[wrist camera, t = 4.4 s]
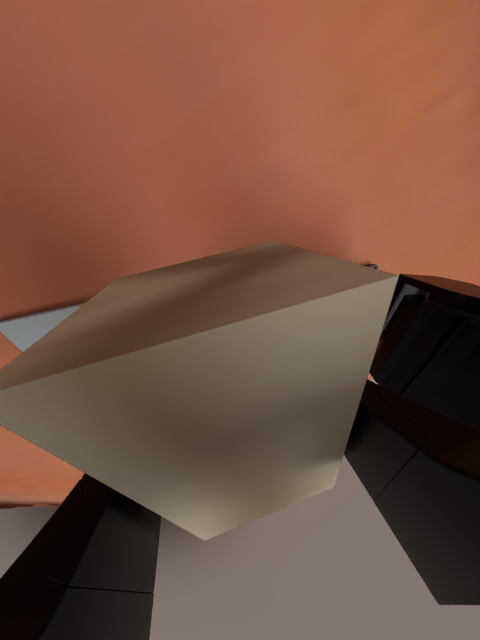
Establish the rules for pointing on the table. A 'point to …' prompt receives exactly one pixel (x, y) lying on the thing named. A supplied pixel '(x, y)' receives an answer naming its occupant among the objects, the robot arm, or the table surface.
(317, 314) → the birch brick
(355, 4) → the table surface
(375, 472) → the robot arm
